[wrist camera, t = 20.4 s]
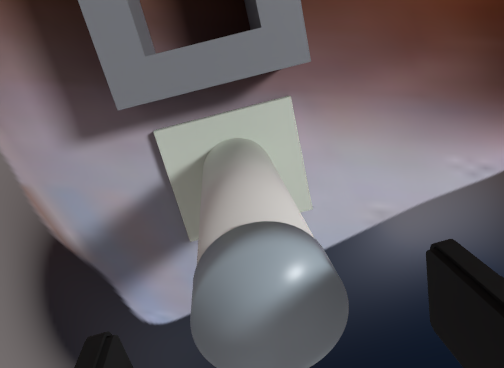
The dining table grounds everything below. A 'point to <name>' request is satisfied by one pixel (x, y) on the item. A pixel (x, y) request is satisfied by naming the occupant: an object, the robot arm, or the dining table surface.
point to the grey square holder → (190, 50)
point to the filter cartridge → (260, 269)
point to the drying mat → (223, 128)
